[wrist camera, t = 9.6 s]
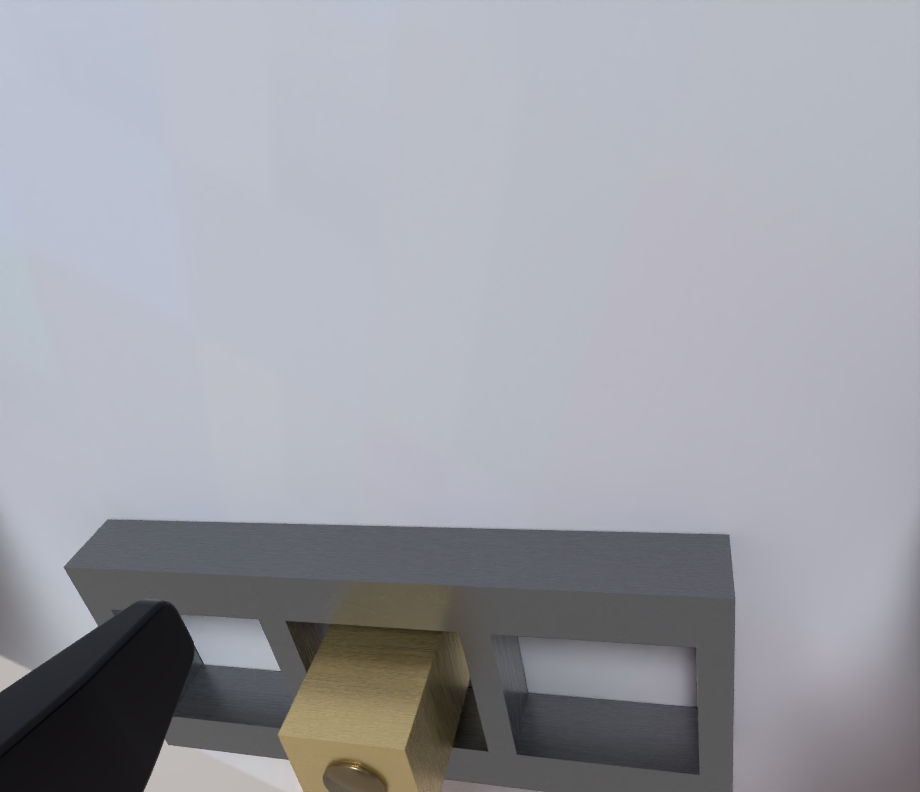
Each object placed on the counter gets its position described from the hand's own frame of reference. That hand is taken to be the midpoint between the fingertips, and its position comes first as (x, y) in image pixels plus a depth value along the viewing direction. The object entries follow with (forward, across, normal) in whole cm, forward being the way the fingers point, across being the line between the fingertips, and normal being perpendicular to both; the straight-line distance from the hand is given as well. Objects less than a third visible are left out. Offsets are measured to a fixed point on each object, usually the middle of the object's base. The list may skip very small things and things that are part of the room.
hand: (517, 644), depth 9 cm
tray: (+12, +8, +14) cm, 20 cm away
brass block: (+12, +8, +14) cm, 20 cm away
